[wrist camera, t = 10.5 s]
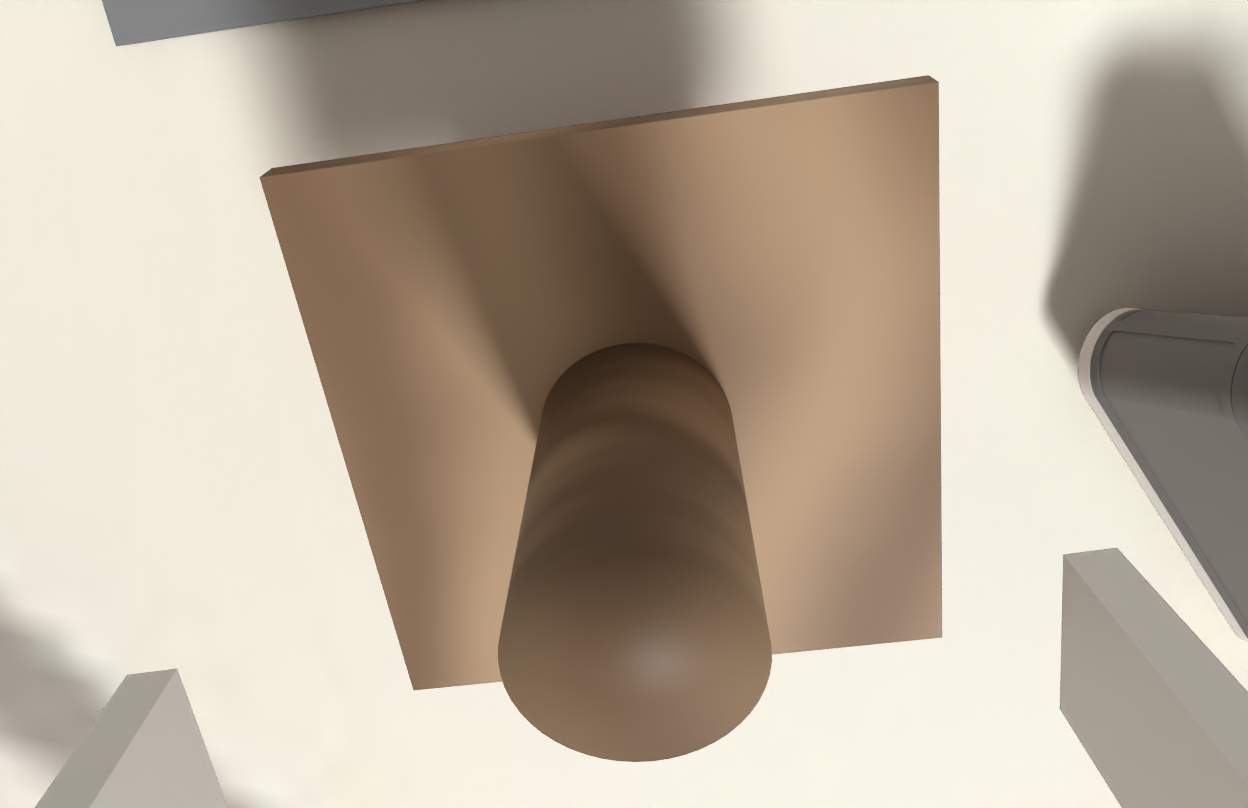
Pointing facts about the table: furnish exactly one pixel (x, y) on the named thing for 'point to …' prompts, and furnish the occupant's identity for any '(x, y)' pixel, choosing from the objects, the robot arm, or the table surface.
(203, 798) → the robot arm
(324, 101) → the table surface
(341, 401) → the lid
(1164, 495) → the camera
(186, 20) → the mat
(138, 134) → the table surface
